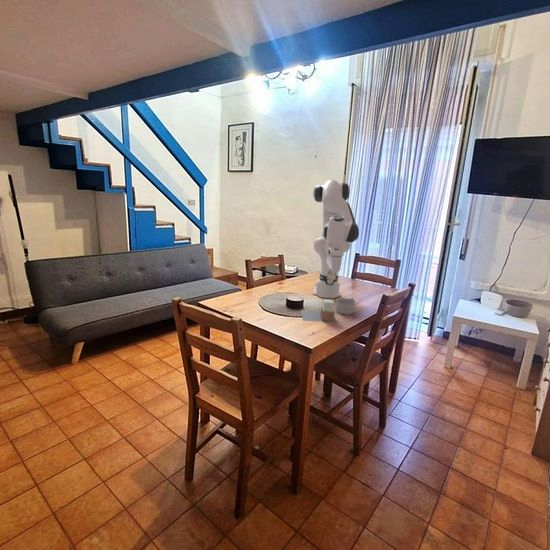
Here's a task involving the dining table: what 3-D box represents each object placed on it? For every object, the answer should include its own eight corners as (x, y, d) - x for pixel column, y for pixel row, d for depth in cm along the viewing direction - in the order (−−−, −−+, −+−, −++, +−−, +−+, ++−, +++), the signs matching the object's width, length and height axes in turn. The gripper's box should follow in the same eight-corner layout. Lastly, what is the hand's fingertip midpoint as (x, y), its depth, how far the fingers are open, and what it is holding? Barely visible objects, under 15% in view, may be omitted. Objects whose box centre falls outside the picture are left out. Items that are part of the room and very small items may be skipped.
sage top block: (322, 308, 175) (323, 299, 174) (331, 308, 175) (332, 299, 174) (323, 311, 170) (324, 302, 169) (333, 312, 170) (334, 302, 169)
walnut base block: (320, 316, 177) (321, 307, 175) (331, 317, 177) (332, 308, 176) (321, 320, 171) (322, 311, 170) (333, 321, 171) (334, 312, 170)
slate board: (300, 312, 184) (300, 310, 183) (332, 314, 184) (333, 312, 184) (302, 322, 170) (302, 320, 170) (337, 324, 170) (337, 322, 170)
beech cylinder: (326, 277, 170) (327, 268, 169) (334, 278, 171) (335, 268, 169) (327, 279, 166) (328, 270, 165) (336, 280, 166) (337, 270, 165)
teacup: (344, 318, 179) (346, 304, 177) (330, 312, 187) (331, 298, 185) (361, 314, 187) (363, 301, 185) (347, 308, 195) (348, 295, 193)
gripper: (324, 245, 175) (322, 270, 178) (331, 252, 155) (328, 281, 158) (336, 246, 175) (334, 271, 178) (344, 253, 155) (341, 281, 158)
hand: (331, 276), depth 168 cm, fingers closed on beech cylinder, 4 cm apart
